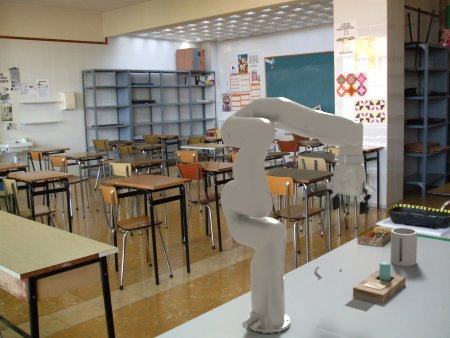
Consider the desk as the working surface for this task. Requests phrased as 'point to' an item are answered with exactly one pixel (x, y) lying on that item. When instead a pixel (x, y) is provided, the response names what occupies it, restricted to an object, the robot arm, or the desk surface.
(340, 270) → the pliers
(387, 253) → the desk surface
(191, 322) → the desk surface
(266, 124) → the robot arm
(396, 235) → the cup
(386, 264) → the peg
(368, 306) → the pad
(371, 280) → the wooden peg hole block
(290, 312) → the desk surface
